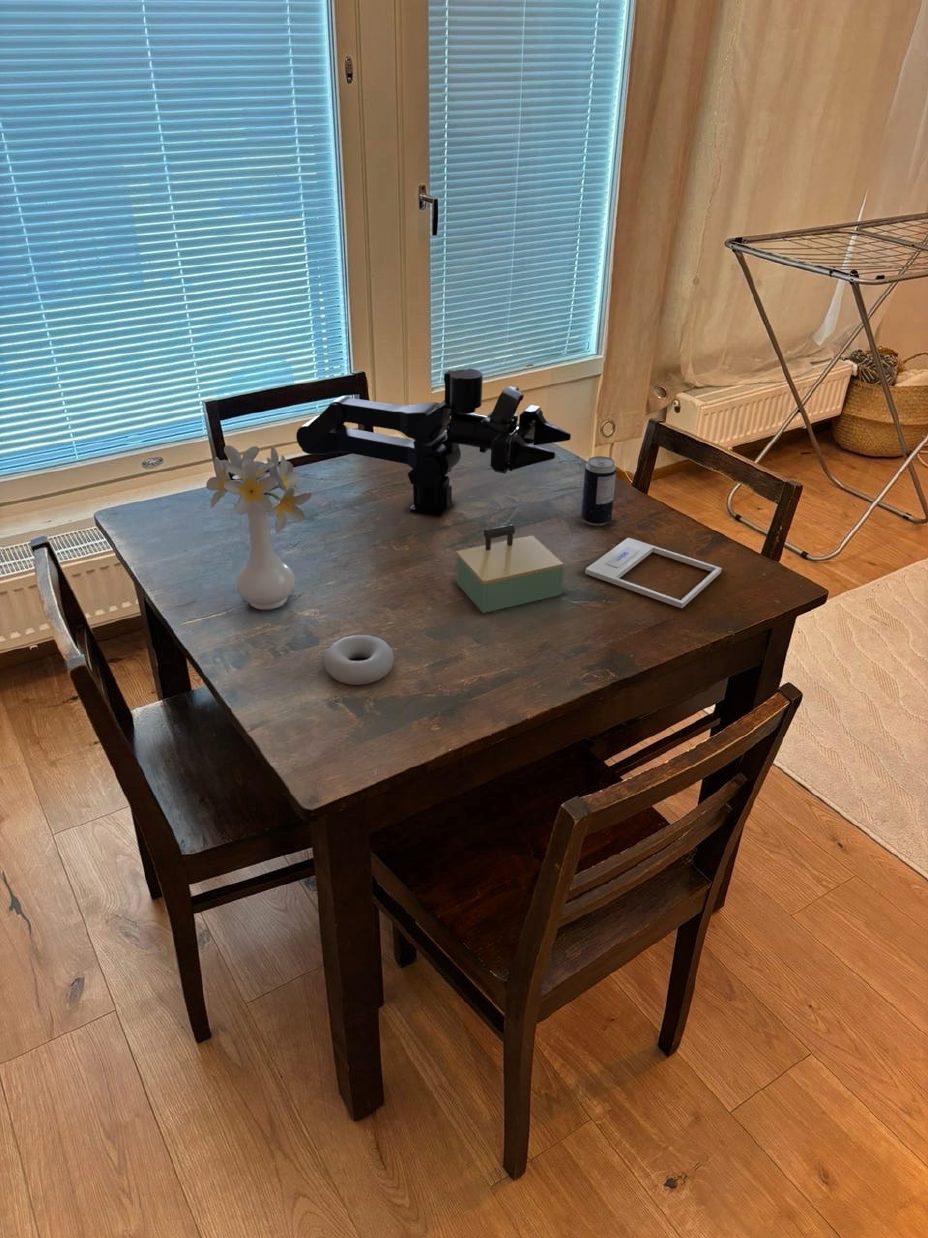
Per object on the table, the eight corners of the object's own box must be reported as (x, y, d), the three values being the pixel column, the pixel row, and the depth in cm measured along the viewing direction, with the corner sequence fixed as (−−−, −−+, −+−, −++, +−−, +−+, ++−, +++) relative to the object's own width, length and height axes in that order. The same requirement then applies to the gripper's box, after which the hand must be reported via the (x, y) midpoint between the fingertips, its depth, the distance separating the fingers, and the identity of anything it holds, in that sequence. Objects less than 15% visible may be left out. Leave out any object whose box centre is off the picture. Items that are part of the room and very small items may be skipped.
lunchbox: (457, 583, 153) (457, 556, 150) (532, 566, 158) (534, 539, 155) (482, 613, 145) (483, 585, 143) (561, 594, 150) (563, 567, 147)
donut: (393, 648, 137) (326, 650, 136) (393, 629, 135) (324, 630, 135) (395, 689, 129) (323, 691, 128) (394, 669, 127) (321, 670, 126)
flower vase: (286, 637, 139) (268, 485, 126) (203, 600, 148) (178, 454, 135) (343, 600, 148) (332, 455, 135) (261, 568, 157) (243, 428, 144)
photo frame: (628, 536, 165) (721, 566, 156) (627, 541, 166) (720, 572, 156) (585, 567, 155) (682, 602, 146) (585, 573, 156) (681, 608, 147)
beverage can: (610, 514, 175) (616, 455, 169) (611, 528, 170) (617, 468, 164) (580, 513, 176) (585, 454, 169) (580, 526, 171) (585, 466, 164)
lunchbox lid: (455, 554, 151) (455, 531, 149) (532, 538, 156) (533, 515, 153) (483, 584, 143) (483, 561, 140) (563, 566, 147) (565, 543, 145)
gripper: (461, 404, 154) (549, 419, 149) (500, 372, 168) (582, 385, 163) (459, 466, 160) (544, 482, 155) (497, 430, 174) (576, 444, 170)
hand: (562, 446), depth 161 cm, fingers open, 9 cm apart
